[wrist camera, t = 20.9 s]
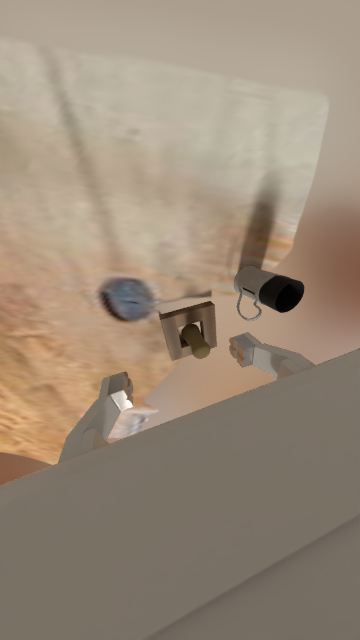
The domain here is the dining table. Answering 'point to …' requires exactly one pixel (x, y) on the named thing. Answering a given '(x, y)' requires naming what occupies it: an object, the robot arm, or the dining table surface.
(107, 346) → the dining table surface
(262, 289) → the glass holder
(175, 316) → the walnut collar
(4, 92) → the dining table surface
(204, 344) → the cork
